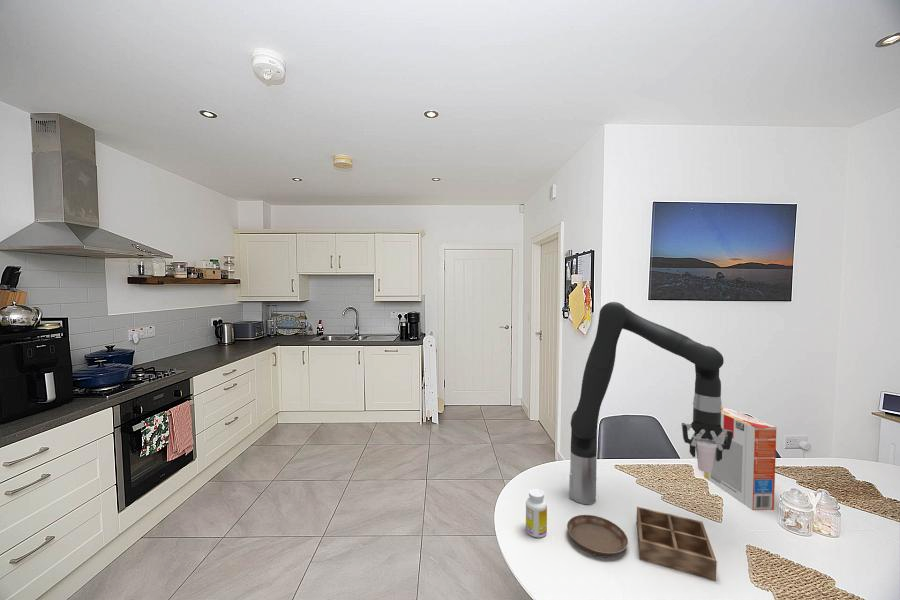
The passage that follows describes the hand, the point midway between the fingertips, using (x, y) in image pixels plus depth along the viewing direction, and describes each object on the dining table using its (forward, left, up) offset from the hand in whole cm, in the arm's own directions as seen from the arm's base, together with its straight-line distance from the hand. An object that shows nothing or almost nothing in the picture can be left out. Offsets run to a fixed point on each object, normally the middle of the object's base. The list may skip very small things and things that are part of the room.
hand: (705, 458), depth 119 cm
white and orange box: (+16, +31, -24) cm, 42 cm away
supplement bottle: (-50, -26, -24) cm, 61 cm away
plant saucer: (-32, -22, -24) cm, 46 cm away
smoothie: (0, 0, -4) cm, 4 cm away
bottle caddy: (-11, -16, -23) cm, 30 cm away
